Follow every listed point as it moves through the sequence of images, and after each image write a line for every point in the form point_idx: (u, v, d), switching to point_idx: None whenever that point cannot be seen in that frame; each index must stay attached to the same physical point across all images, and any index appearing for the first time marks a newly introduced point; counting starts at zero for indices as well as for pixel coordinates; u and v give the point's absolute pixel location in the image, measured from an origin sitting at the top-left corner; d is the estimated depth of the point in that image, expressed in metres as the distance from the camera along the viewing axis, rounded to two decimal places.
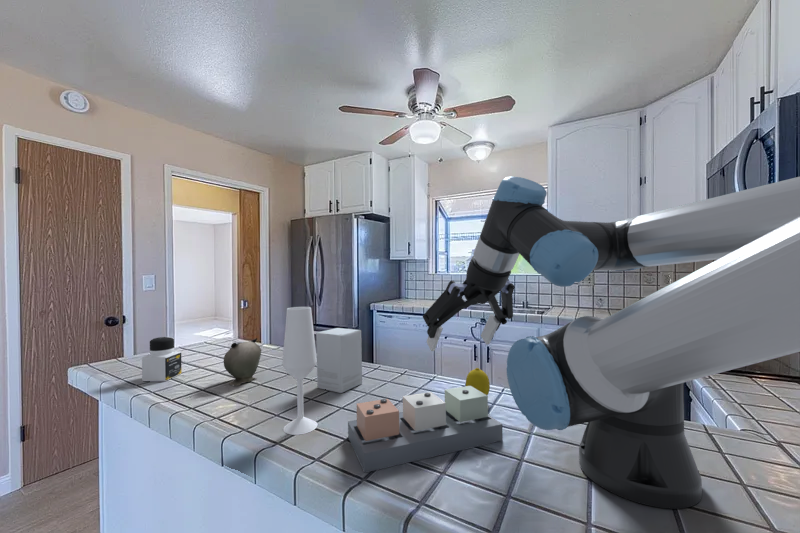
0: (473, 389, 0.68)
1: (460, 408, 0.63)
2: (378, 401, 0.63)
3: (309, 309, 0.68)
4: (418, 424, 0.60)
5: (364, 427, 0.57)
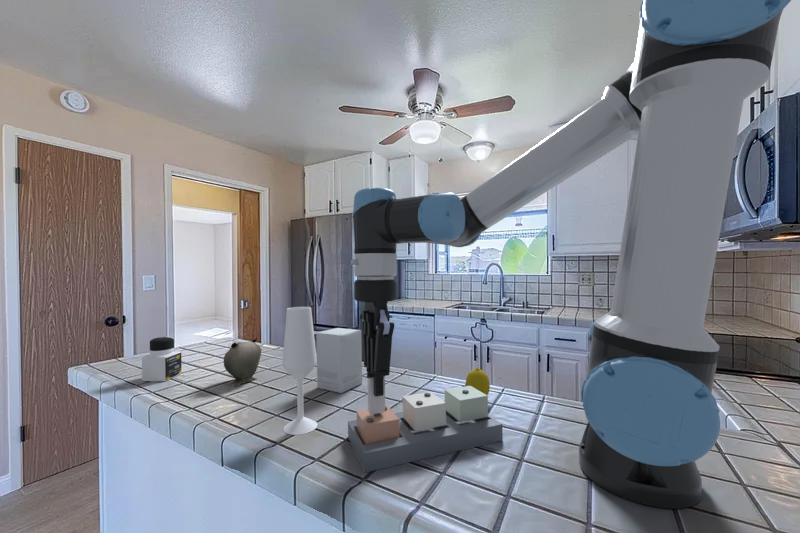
0: (473, 389, 0.68)
1: (460, 408, 0.63)
2: None
3: (309, 309, 0.68)
4: (418, 424, 0.60)
5: (364, 435, 0.57)
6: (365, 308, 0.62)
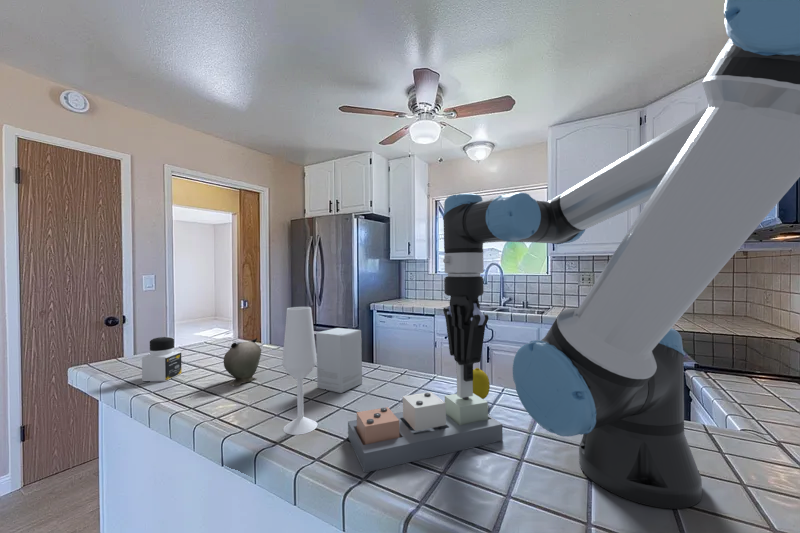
0: (473, 395, 0.68)
1: (460, 415, 0.63)
2: (378, 410, 0.63)
3: (309, 309, 0.68)
4: (418, 424, 0.60)
5: (364, 437, 0.57)
6: (451, 302, 0.69)
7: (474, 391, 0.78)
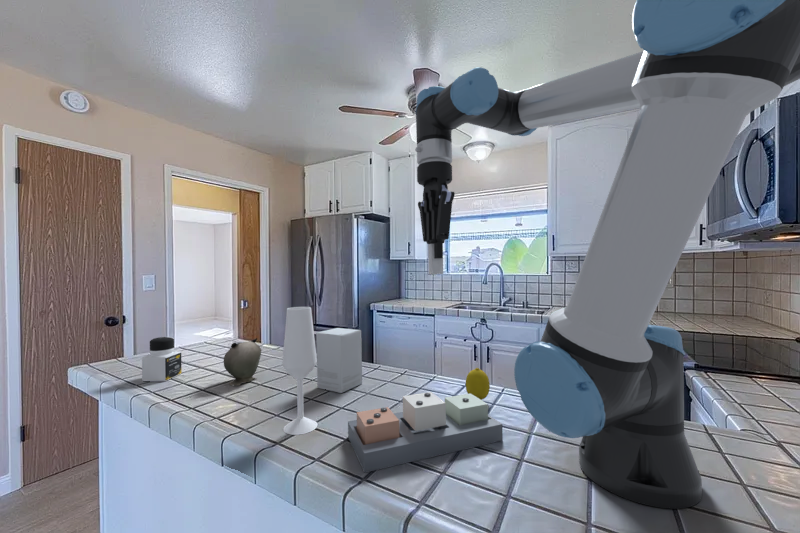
0: (473, 397, 0.68)
1: (460, 417, 0.63)
2: (378, 410, 0.63)
3: (309, 309, 0.68)
4: (418, 424, 0.60)
5: (364, 437, 0.57)
6: (424, 193, 0.76)
7: (474, 391, 0.78)
